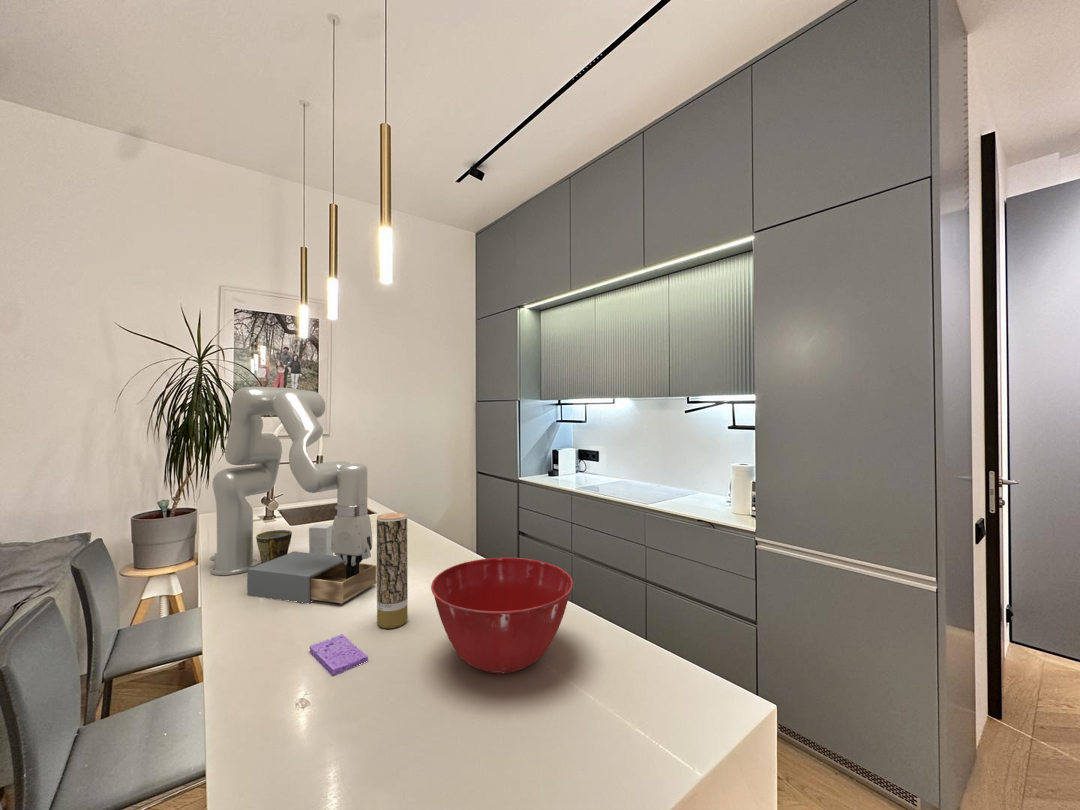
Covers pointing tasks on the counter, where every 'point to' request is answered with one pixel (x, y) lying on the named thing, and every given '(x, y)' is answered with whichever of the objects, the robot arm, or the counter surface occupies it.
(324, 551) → the skincare box
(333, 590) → the tray
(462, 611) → the mixing bowl
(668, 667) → the counter surface
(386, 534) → the paper tube
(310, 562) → the sleeve
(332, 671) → the sponges
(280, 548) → the ceramic cup
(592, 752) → the counter surface
